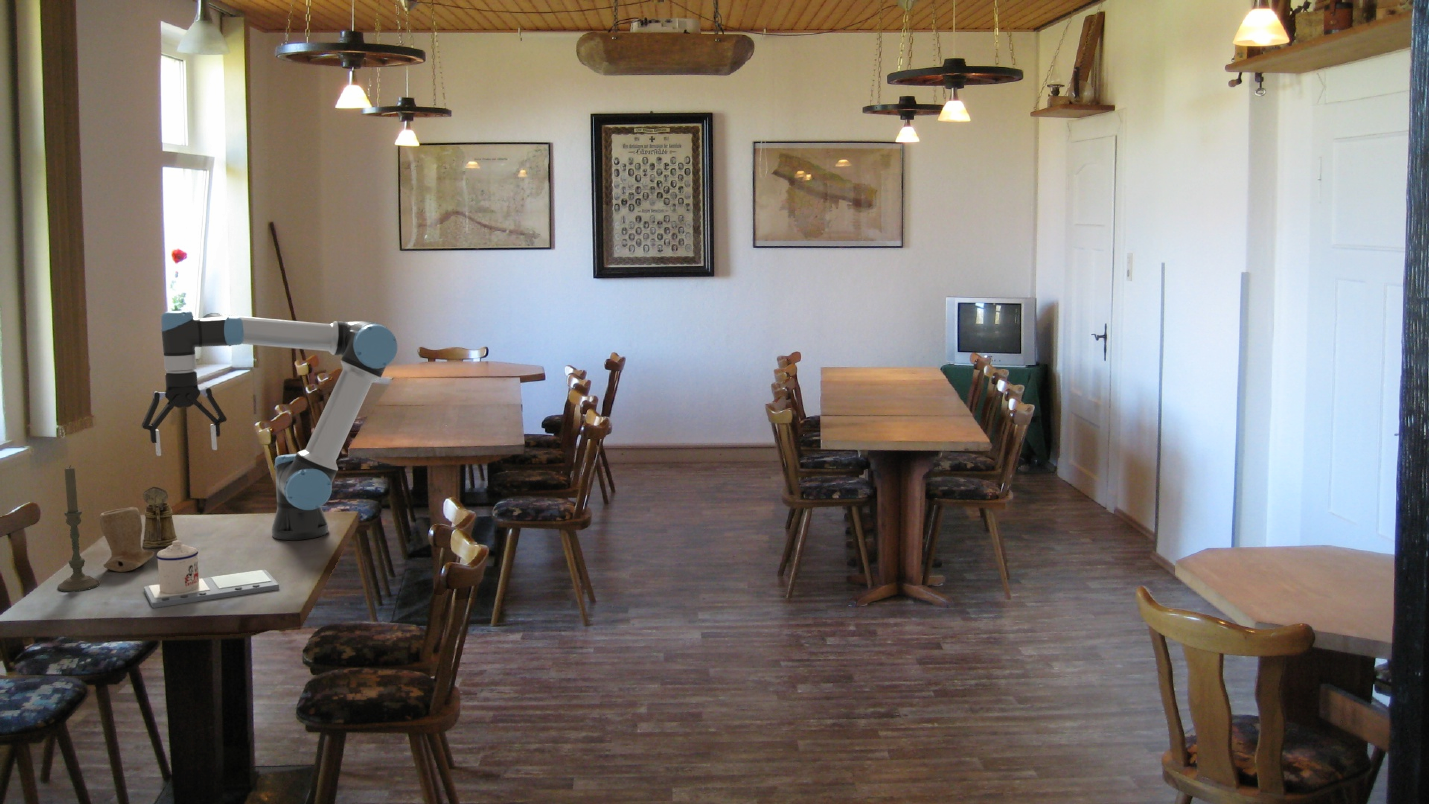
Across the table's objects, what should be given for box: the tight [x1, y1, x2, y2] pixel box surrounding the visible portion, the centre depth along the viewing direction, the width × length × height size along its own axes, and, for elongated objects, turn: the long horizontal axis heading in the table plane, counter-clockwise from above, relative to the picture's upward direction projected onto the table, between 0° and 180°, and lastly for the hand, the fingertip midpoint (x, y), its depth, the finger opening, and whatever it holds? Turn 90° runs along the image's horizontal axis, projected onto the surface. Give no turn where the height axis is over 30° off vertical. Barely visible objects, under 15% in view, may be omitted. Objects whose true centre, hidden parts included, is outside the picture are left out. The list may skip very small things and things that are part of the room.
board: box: [143, 569, 280, 609], centre depth 296 cm, size 28×15×1 cm, turn 121°
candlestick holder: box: [57, 464, 100, 592], centre depth 297 cm, size 9×9×30 cm
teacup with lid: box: [156, 539, 200, 594], centre depth 293 cm, size 12×9×12 cm
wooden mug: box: [142, 486, 178, 549], centre depth 335 cm, size 9×14×18 cm, turn 20°
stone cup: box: [99, 506, 155, 573], centre depth 316 cm, size 15×12×15 cm
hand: (186, 452), depth 320 cm, fingers open, 13 cm apart
